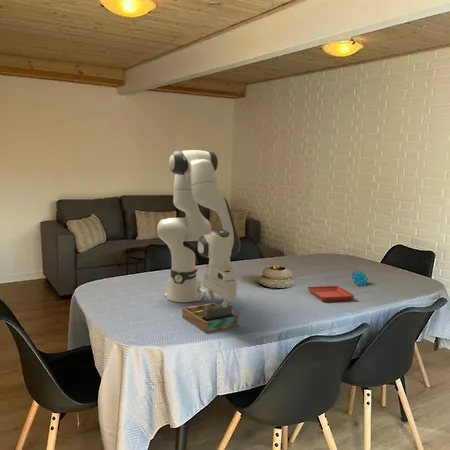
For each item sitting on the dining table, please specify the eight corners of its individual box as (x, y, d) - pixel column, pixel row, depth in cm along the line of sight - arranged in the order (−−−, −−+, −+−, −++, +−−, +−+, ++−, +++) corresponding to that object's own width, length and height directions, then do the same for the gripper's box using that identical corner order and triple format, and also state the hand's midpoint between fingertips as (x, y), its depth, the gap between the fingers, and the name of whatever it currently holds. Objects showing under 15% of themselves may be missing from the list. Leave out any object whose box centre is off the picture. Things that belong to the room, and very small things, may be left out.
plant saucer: (305, 292, 242) (306, 286, 242) (337, 291, 247) (337, 285, 246) (321, 303, 225) (321, 297, 224) (354, 302, 229) (355, 295, 229)
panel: (206, 326, 185) (207, 310, 184) (202, 324, 187) (203, 307, 186) (231, 321, 191) (232, 305, 190) (227, 319, 194) (228, 303, 193)
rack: (204, 332, 182) (205, 322, 182) (182, 317, 198) (182, 308, 197) (238, 325, 191) (238, 316, 190) (214, 311, 207) (214, 302, 206)
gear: (354, 284, 254) (350, 268, 260) (349, 289, 259) (345, 273, 265) (372, 286, 257) (368, 270, 263) (366, 291, 262) (362, 275, 268)
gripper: (199, 264, 193) (198, 296, 195) (226, 278, 176) (224, 312, 178) (212, 263, 196) (211, 294, 199) (240, 276, 179) (238, 310, 182)
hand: (217, 303), depth 188 cm, fingers open, 8 cm apart
